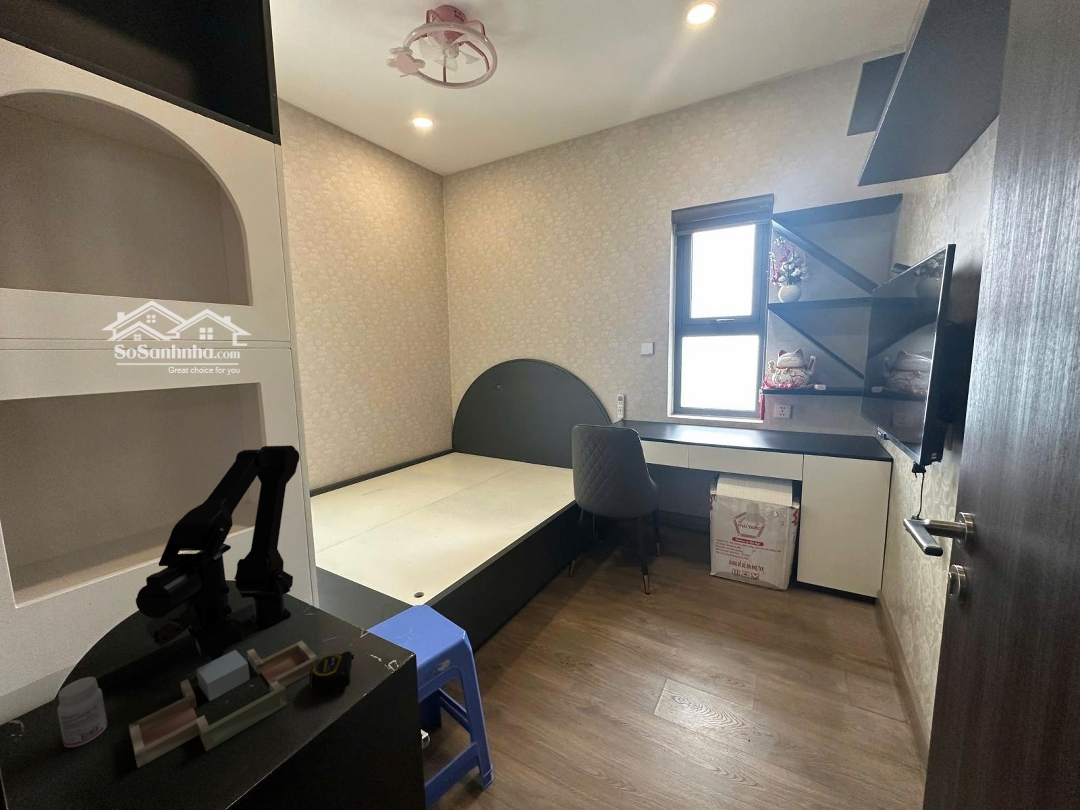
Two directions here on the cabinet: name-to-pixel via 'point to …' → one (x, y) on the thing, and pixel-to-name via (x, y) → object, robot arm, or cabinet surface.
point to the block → (222, 674)
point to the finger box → (182, 723)
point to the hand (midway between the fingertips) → (215, 662)
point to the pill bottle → (81, 712)
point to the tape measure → (331, 673)
